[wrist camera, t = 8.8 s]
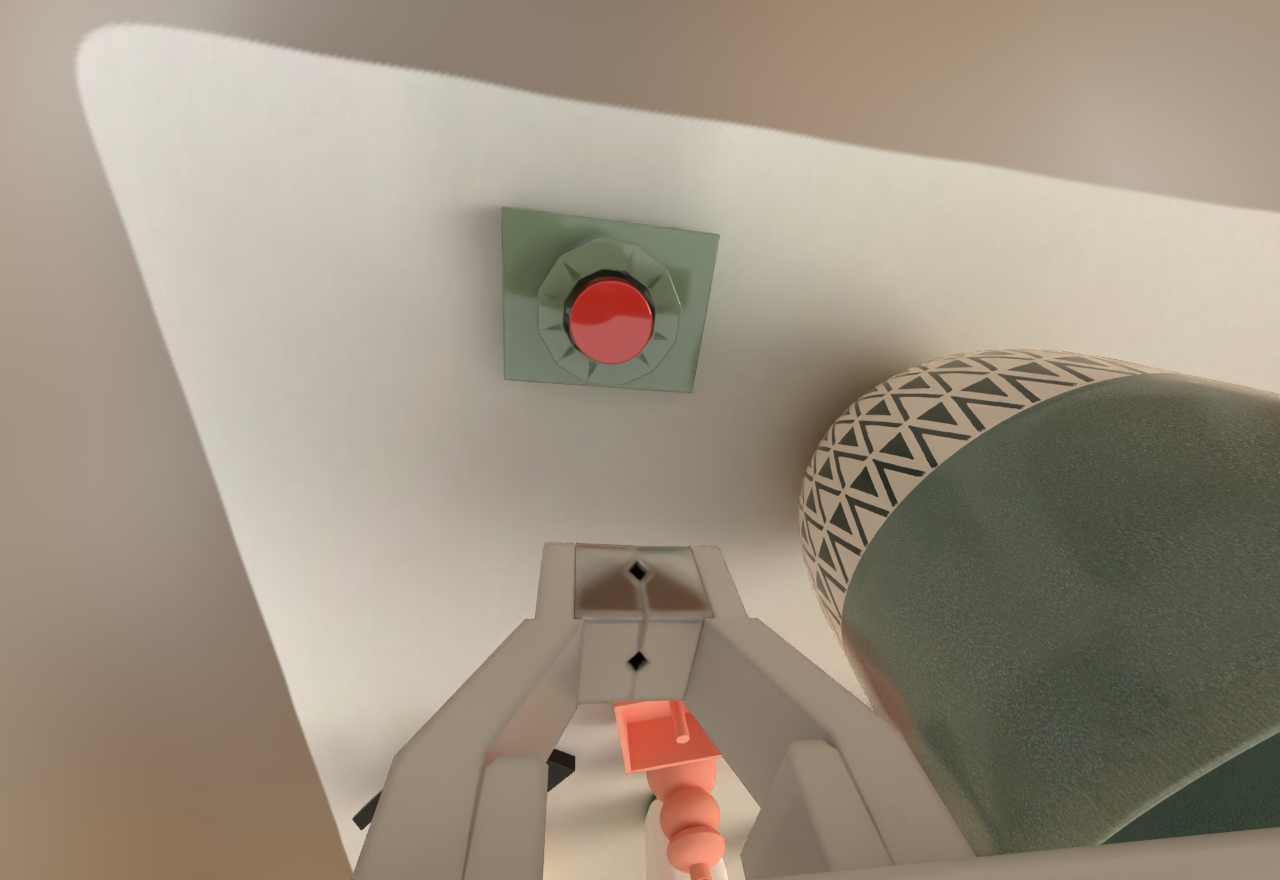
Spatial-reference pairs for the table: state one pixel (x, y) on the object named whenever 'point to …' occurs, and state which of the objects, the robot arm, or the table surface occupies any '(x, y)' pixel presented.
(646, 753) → the pottery
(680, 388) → the control block
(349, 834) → the table surface
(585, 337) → the button
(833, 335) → the table surface
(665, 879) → the cup
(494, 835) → the robot arm
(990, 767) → the planter
